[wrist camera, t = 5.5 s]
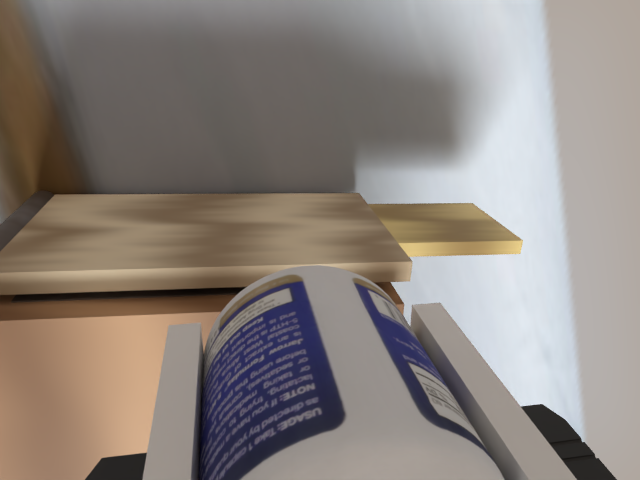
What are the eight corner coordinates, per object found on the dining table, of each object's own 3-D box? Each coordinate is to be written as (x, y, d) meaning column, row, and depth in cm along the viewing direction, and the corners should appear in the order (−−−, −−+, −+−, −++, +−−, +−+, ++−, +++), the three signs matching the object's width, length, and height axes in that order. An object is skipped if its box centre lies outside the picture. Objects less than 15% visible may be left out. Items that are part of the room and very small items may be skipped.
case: (66, 388, 29) (-5, 553, 20) (39, 214, 26) (-63, 322, 17) (335, 371, 32) (379, 512, 23) (345, 211, 28) (404, 303, 19)
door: (32, 215, 25) (-52, 302, 17) (29, 190, 25) (-61, 268, 17) (457, 210, 29) (544, 281, 21) (461, 188, 28) (551, 253, 21)
